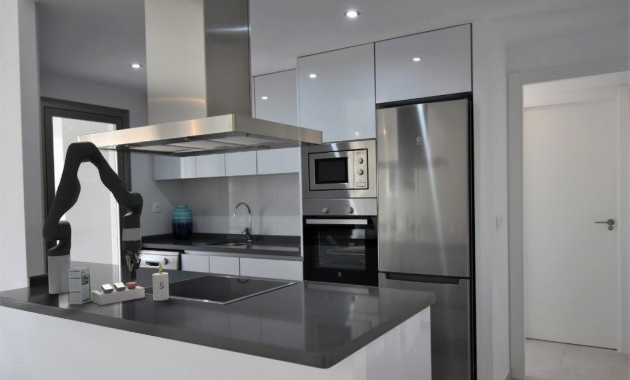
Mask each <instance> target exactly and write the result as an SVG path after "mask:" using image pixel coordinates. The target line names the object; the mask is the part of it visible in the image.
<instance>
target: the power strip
mask: <svg viewBox="0 0 630 380" xmlns="http://www.w3.org/2000/svg"><path fill="white" fill-rule="evenodd" d="M125 286H126V285H125ZM113 288H114V289H113V292H108V293H105V292H104V291H103V290H102V288H101V289H97V290H91V301H90V302H93V303H96V304H97V305H100V306H102V305H110V304H114V303H120V302H125V301H131V300H135V299H136V300H137V299H143V298H145V294H146V293H153V288H150V289H149V288H148V289H145V287H142V286H140V285H138V286H136V287H127V286H126V290H121V291H117V289H116V288H115V287H114V286H113Z"/></svg>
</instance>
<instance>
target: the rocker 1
mask: <svg viewBox="0 0 630 380" xmlns="http://www.w3.org/2000/svg"><path fill="white" fill-rule="evenodd" d="M101 289H102V290H103V291H104V292H105V293H108V292H113V289H114V286H112V285H111V284H110V283H107V284H101Z"/></svg>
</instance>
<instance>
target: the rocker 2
mask: <svg viewBox="0 0 630 380" xmlns="http://www.w3.org/2000/svg"><path fill="white" fill-rule="evenodd" d="M114 287H115V288H116V289H117V291H121V290H126V284H125V283H123V282H122V281H121V282H114V283H113V288H114Z"/></svg>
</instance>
